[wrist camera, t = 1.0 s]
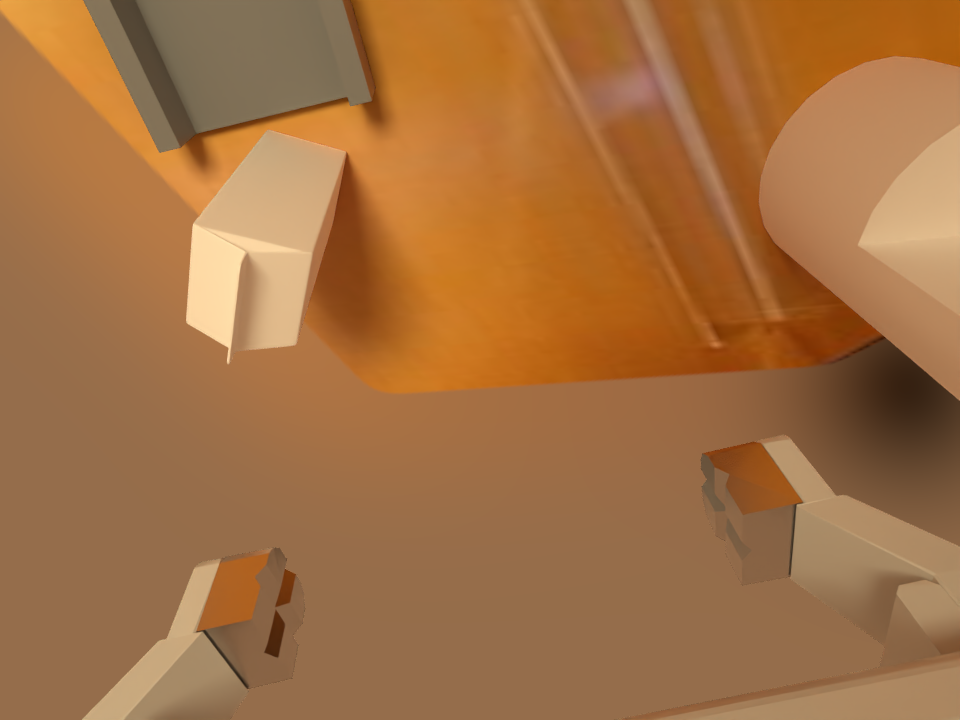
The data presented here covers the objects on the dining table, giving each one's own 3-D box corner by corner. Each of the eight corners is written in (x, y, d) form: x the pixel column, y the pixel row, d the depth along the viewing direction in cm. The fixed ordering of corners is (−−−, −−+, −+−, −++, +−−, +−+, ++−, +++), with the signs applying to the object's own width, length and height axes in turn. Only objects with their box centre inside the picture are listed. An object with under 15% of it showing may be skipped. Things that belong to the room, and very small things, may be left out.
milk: (258, 202, 50) (162, 356, 31) (267, 126, 46) (166, 248, 28) (335, 222, 51) (285, 380, 33) (349, 150, 48) (303, 280, 30)
